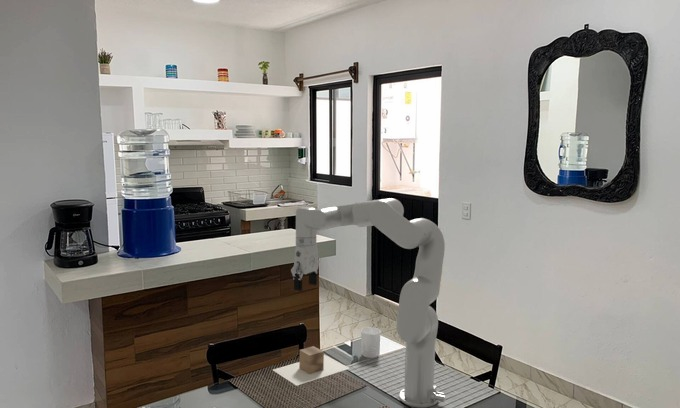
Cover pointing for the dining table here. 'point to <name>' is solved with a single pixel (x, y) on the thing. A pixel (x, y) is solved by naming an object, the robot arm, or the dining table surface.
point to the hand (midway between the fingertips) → (305, 287)
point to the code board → (300, 376)
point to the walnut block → (311, 360)
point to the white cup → (370, 342)
